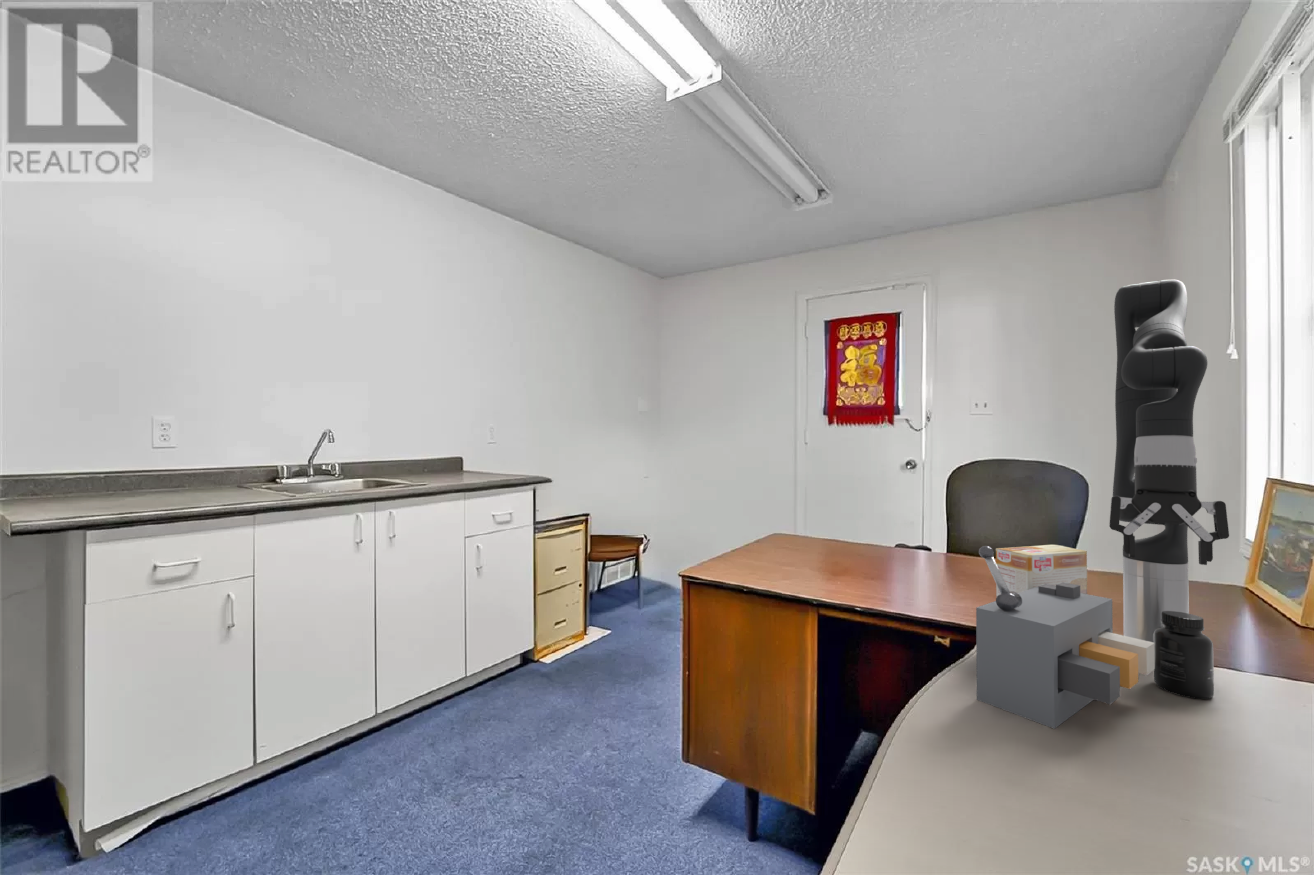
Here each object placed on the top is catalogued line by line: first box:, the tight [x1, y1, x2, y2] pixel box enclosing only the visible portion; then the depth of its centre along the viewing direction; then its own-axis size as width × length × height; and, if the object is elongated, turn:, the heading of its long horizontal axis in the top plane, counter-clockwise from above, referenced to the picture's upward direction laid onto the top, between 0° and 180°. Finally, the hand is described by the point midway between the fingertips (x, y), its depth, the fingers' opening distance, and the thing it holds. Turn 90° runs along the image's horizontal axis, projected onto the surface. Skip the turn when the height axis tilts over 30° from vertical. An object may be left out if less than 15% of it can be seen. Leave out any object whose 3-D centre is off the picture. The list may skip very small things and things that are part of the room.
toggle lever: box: [978, 545, 1022, 611], centre depth 81 cm, size 3×2×10 cm
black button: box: [1058, 652, 1121, 705], centre depth 73 cm, size 4×8×4 cm, turn 34°
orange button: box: [1079, 641, 1139, 690], centre depth 78 cm, size 4×8×4 cm, turn 34°
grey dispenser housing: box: [975, 582, 1114, 729], centre depth 83 cm, size 24×10×16 cm, turn 124°
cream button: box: [1098, 631, 1155, 676], centre depth 82 cm, size 4×8×4 cm, turn 34°
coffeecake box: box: [995, 544, 1088, 599], centre depth 100 cm, size 15×7×20 cm, turn 106°
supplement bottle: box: [1153, 611, 1215, 700], centre depth 84 cm, size 7×7×12 cm
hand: (1166, 560), depth 88 cm, fingers open, 8 cm apart
